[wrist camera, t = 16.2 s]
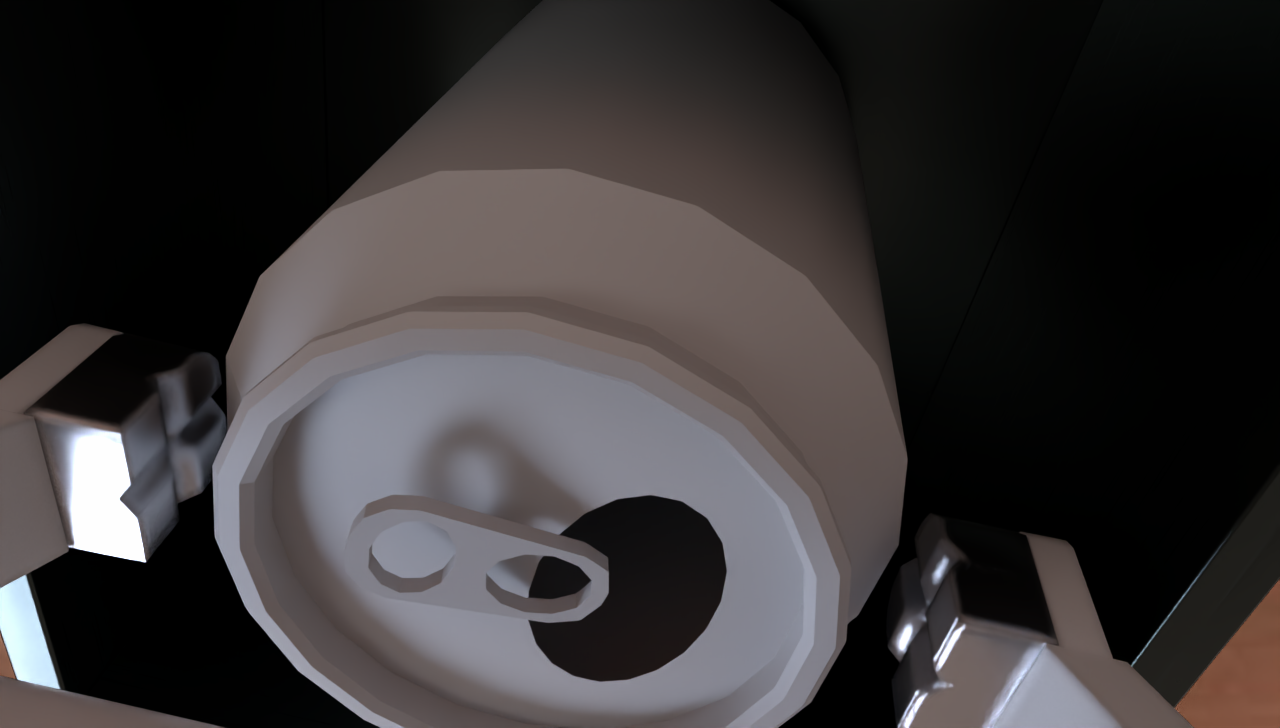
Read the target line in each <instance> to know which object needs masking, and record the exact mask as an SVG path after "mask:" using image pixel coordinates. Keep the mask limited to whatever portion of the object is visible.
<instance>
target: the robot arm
mask: <svg viewBox="0 0 1280 728" xmlns="http://www.w3.org/2000/svg"><path fill="white" fill-rule="evenodd" d="M221 385H222V381H221V375H220V369H219V362H218V360H217V359H216V358H215V357H213V356H212V355H211V354H210V353H207V352H203V351H199V350H195V349H191V348H187V347H183V346H179V345H174V344H170V343H166V342H162V341H158V340H154V339H150V338H146V337H142V336H138V335H134V334H130V333H122V332H119V331H115V330H110V329H106V328H102V327H98V326H94V325H90V324H86V323H83V324H77V325H71V326H69V327H67V328H66V329H65V330H64V331H62V332H61V333H60V334H58V335H57V336H56V337H55V338H53V339H52V340H51V341H50V342H48V343H47V344H46V345H44V346H43V347H42V348H41V349H39V350H38V351H37V352H35V353H34V354H33V355H32V356H30V357H29V358H28V359H27V360H25V361H24V362H23V363H21V364H20V365H19V366H18V367H16V368H15V369H14V370H13V371H11V372H10V373H9V374H7V375H6V376H5V377H4V378H2V379H1V380H0V588H2V587H4V586H6V585H7V584H9V583H11V582H13V581H15V580H17V579H19V578H20V577H22V576H24V575H26V574H28V573H30V572H31V571H33V570H35V569H37V568H39V567H41V566H43V565H44V564H46V563H48V562H50V561H52V560H54V559H56V558H57V557H59V556H61V555H63V554H65V553H67V552H68V551H69V548H68V547H71V548H76V549H81V550H86V551H91V552H96V553H101V554H106V555H111V556H116V557H121V558H126V559H131V560H136V561H141V562H146V561H147V560H148V559H149V558H150V556H151V555H152V554H153V553H154V552H155V550H156V549H157V548H158V547H159V545H160V544H161V543H162V542H163V540H164V539H165V538H166V537H167V535H168V534H169V533H170V532H171V531H172V529H173V528H174V527H175V526H176V524H177V523H178V522H179V521H180V517H179V510H178V504H177V503H180V502H182V501H184V500H186V499H189V498H191V497H193V496H196V495H198V494H200V493H202V492H203V490H204V489H205V488H206V487H207V485H208V484H209V483H210V481H211V480H212V479H213V468H212V465H213V463H214V461H215V459H216V456H217V454H218V452H219V450H220V448H221V445H222V443H223V441H224V439H225V437H226V434H227V425H226V415H225V414H224V413H223V411H222V410H221V409H220V408H219V406H218V405H217V404H216V403H215V401H214V400H213V399H212V398H211V396H212V395H213V394H214V393H215V391H216V390H217V389H218V388H219V387H220V386H221ZM914 540H915V547H916V554H917V558H915V559H913V560H911V561H909V562H907V563H906V564H904V565H902V566H901V567H900V570H899V572H898V574H897V577H896V579H895V582H894V584H893V586H892V590H891V595H890V599H889V604H888V608H887V624H886V631H887V643H888V648H889V649H890V651H891V652H892V653H893V655H894V656H895V657H896V658H897V660H898V661H899V662H900V664H899V666H898V668H897V670H896V672H895V674H894V676H893V678H892V680H891V683H892V692H893V701H894V710H895V719H896V728H1194V727H1193V726H1192V725H1191V724H1190V723H1189V722H1188V721H1187V720H1186V719H1185V718H1184V717H1183V716H1182V715H1181V714H1180V713H1178V712H1177V711H1176V710H1175V709H1174V708H1173V707H1172V706H1171V705H1170V704H1169V703H1168V702H1167V701H1166V700H1165V699H1164V698H1163V697H1162V696H1161V695H1160V694H1159V693H1158V692H1157V691H1156V690H1155V689H1154V688H1153V687H1152V686H1151V685H1150V684H1149V683H1148V682H1147V681H1146V680H1145V679H1144V678H1143V677H1142V676H1141V675H1140V674H1139V673H1138V672H1137V671H1136V670H1135V669H1134V668H1133V667H1132V666H1131V665H1130V664H1128V663H1127V662H1124V661H1120V660H1116V659H1113V657H1112V654H1111V651H1110V649H1109V646H1108V643H1107V640H1106V637H1105V635H1104V632H1103V629H1102V626H1101V623H1100V621H1099V618H1098V615H1097V612H1096V609H1095V607H1094V604H1093V601H1092V598H1091V595H1090V593H1089V590H1088V587H1087V584H1086V581H1085V579H1084V576H1083V573H1082V570H1081V567H1080V565H1079V562H1078V559H1077V556H1076V553H1075V551H1074V548H1073V547H1072V546H1071V545H1070V544H1069V543H1068V542H1067V541H1066V540H1061V539H1056V538H1051V537H1046V536H1041V535H1036V534H1031V533H1026V532H1019V533H1018V532H1015V531H1011V530H1006V529H1001V528H997V527H992V526H988V525H983V524H978V523H974V522H969V521H964V520H960V519H955V518H950V517H946V516H941V515H937V514H932V513H930V514H929V515H928V516H927V517H926V518H925V519H924V520H923V522H922V523H921V525H920V527H919V529H918V532H917V534H916V536H915V538H914ZM0 728H225V727H220V726H216V725H212V724H207V723H203V722H199V721H194V720H190V719H186V718H182V717H177V716H173V715H169V714H164V713H160V712H156V711H151V710H147V709H143V708H138V707H134V706H130V705H125V704H121V703H117V702H112V701H108V700H104V699H99V698H95V697H91V696H86V695H82V694H78V693H73V692H69V691H65V690H60V689H56V688H52V687H47V686H43V685H39V684H34V683H30V682H26V681H21V680H17V679H13V678H8V677H4V676H0Z"/></svg>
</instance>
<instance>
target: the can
mask: <svg viewBox="0 0 1280 728" xmlns="http://www.w3.org/2000/svg"><path fill="white" fill-rule="evenodd" d="M226 387H227V434H226V437H225V439H224V441H223V443H222V445H221V448H220V450H219V452H218V454H217V456H216V459H215V461H214V463H213V465H212V468H213V499H214V530H215V539H216V541H217V544H218V546H219V548H220V551H221V553H222V555H223V557H224V560H225V562H226V564H227V567H228V569H229V571H230V573H231V576H232V578H233V580H234V583H235V585H236V587H237V589H238V592H239V594H240V596H241V599H242V601H243V603H244V606H245V607H246V609H247V611H248V612H249V613H250V615H251V616H252V617H253V618H254V619H255V620H256V622H257V623H258V624H259V625H260V626H261V628H262V629H263V630H264V631H265V632H266V633H267V635H268V636H269V637H270V638H271V639H272V641H273V642H274V643H275V644H276V645H277V646H278V648H279V649H280V650H281V651H282V652H283V654H284V655H285V656H286V657H287V658H288V659H289V661H290V662H291V663H292V664H293V665H294V667H295V668H296V669H297V670H298V671H299V672H300V673H301V674H303V675H304V676H305V677H307V678H308V679H310V680H311V681H312V682H314V683H315V684H316V685H318V686H319V687H320V688H322V689H323V690H324V691H326V692H327V693H328V694H330V695H331V696H332V697H334V698H335V699H336V700H338V701H339V702H340V703H342V704H343V705H344V706H346V707H347V708H349V709H350V710H351V711H353V712H354V713H355V714H357V715H358V716H359V717H361V718H362V719H363V720H365V721H368V722H370V723H372V724H374V725H376V726H378V727H380V728H778V727H780V726H781V725H782V724H784V723H785V722H786V721H787V720H789V719H790V718H791V717H793V716H794V715H795V714H797V713H798V712H799V711H801V710H802V709H803V708H804V707H806V706H807V705H808V704H810V703H811V702H812V700H813V698H814V696H815V695H816V693H817V691H818V690H819V688H820V686H821V684H822V683H823V681H824V679H825V677H826V676H827V674H828V672H829V671H830V669H831V667H832V665H833V664H834V662H835V660H836V659H837V657H838V655H839V653H840V652H841V650H842V648H843V646H844V645H845V643H846V637H847V624H848V623H849V622H850V621H852V620H853V619H854V618H855V617H857V616H858V615H859V613H860V611H861V609H862V608H863V606H864V604H865V602H866V601H867V599H868V597H869V595H870V594H871V592H872V590H873V588H874V587H875V585H876V583H877V582H878V580H879V578H880V576H881V575H882V573H883V571H884V569H885V568H886V566H887V564H888V562H889V561H890V559H891V557H892V556H893V554H894V552H895V550H896V549H897V547H898V545H899V536H900V527H901V517H902V508H903V498H904V489H905V480H906V470H907V461H908V458H907V452H906V446H905V439H904V433H903V427H902V421H901V414H900V408H899V402H898V395H897V389H896V383H895V377H894V370H893V364H892V358H891V352H890V345H889V339H888V333H887V327H886V320H885V314H884V308H883V301H882V295H881V289H880V283H879V276H878V270H877V264H876V258H875V251H874V245H873V239H872V233H871V226H870V220H869V214H868V207H867V201H866V195H865V189H864V182H863V176H862V170H861V164H860V157H859V151H858V145H857V138H856V134H855V131H854V127H853V124H852V120H851V117H850V113H849V110H848V107H847V103H846V100H845V96H844V93H843V89H842V86H841V82H840V79H839V76H838V74H837V73H836V72H835V70H834V69H833V67H832V66H831V65H830V63H829V62H828V60H827V59H826V58H825V56H824V55H823V53H822V52H821V51H820V49H819V48H818V46H817V45H816V43H815V42H814V41H813V39H812V38H811V36H810V35H809V34H808V32H807V31H806V29H805V28H804V27H803V25H802V24H801V22H799V21H798V20H796V19H795V18H794V17H792V16H791V15H789V14H788V13H787V12H785V11H784V10H782V9H781V8H780V7H778V6H777V5H775V4H774V3H773V2H771V1H770V0H543V1H541V2H540V3H539V4H538V5H537V6H536V7H535V8H534V9H533V10H532V11H531V12H530V13H528V14H527V15H526V16H525V17H524V18H523V19H522V20H521V21H520V22H519V23H518V24H517V25H515V26H514V27H513V28H512V29H511V30H510V31H509V32H508V33H507V34H506V35H505V36H504V37H503V38H502V39H501V40H500V41H499V42H498V43H496V44H495V45H494V46H493V47H492V48H491V49H490V50H489V51H488V52H487V53H486V54H485V55H484V56H483V57H482V58H481V59H480V60H479V61H478V62H477V63H476V64H475V65H474V66H473V67H472V68H471V69H470V70H469V71H468V72H467V73H466V74H465V75H464V76H463V77H462V78H461V79H460V80H459V81H458V82H457V83H456V84H455V85H454V86H453V87H452V88H451V89H450V90H449V91H448V92H447V93H446V94H445V95H444V96H443V97H442V98H441V99H440V100H438V101H437V102H436V103H435V104H434V105H433V106H432V107H431V108H430V109H429V110H428V111H427V112H426V113H425V114H424V115H423V116H422V117H421V118H420V119H419V120H418V121H417V122H416V123H415V124H414V125H413V126H412V127H411V128H410V129H409V130H408V131H407V132H406V133H405V134H404V135H403V136H402V137H401V138H400V139H399V140H398V141H397V142H396V143H395V144H394V145H393V146H392V147H391V148H390V149H389V150H388V151H387V152H386V153H385V154H384V155H383V156H382V157H380V158H379V159H378V160H377V161H376V162H375V163H374V164H373V165H372V166H371V167H370V168H369V169H368V170H367V171H366V172H365V173H364V174H363V175H362V176H361V177H360V178H359V179H358V180H357V181H356V182H355V183H354V184H353V185H352V186H351V187H350V188H349V189H348V190H347V191H346V192H345V193H344V194H343V195H342V196H341V197H340V198H339V199H338V200H337V201H336V202H335V203H334V204H333V205H332V206H331V207H330V208H329V209H328V210H327V211H326V212H325V213H324V214H322V215H321V216H320V217H319V218H318V219H317V220H316V221H315V222H314V223H313V224H312V225H311V226H310V227H309V228H308V229H307V230H306V231H305V232H304V233H303V234H302V235H301V236H300V237H299V238H298V239H297V240H296V241H295V242H294V243H293V244H292V245H291V246H290V247H289V248H288V249H287V250H286V251H285V252H284V253H283V254H282V255H281V256H280V257H279V258H278V259H277V260H276V261H275V262H274V263H273V264H272V265H271V266H270V267H269V268H268V269H267V270H266V271H264V272H263V273H262V274H261V275H260V277H259V279H258V282H257V284H256V286H255V289H254V291H253V293H252V296H251V298H250V300H249V303H248V305H247V308H246V310H245V312H244V315H243V317H242V319H241V322H240V324H239V326H238V329H237V331H236V334H235V336H234V338H233V341H232V343H231V345H230V348H229V350H228V352H227V355H226Z"/></svg>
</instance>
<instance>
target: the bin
mask: <svg viewBox="0 0 1280 728" xmlns="http://www.w3.org/2000/svg"><path fill="white" fill-rule="evenodd" d="M541 1H543V0H0V380H1V379H2V378H4V377H5V376H6V375H7V374H9V373H10V372H11V371H13V370H14V369H15V368H16V367H18V366H19V365H20V364H21V363H23V362H24V361H25V360H27V359H28V358H29V357H30V356H32V355H33V354H34V353H35V352H37V351H38V350H39V349H41V348H42V347H43V346H44V345H46V344H47V343H48V342H50V341H51V340H52V339H53V338H55V337H56V336H57V335H58V334H60V333H61V332H62V331H64V330H65V329H66V328H67V327H69V326H71V325H77V324H83V323H86V324H90V325H94V326H98V327H102V328H106V329H110V330H115V331H119V332H122V333H130V334H134V335H138V336H142V337H146V338H150V339H154V340H158V341H162V342H166V343H170V344H174V345H179V346H183V347H187V348H191V349H195V350H199V351H203V352H207V353H210V354H211V355H212V356H213V357H215V358H216V359H217V360H218V362H219V369H220V375H221V381H222V385H221V386H220V387H219V388H218V389H217V390H216V391H215V393H214V394H213V395H212V396H211V398H212V399H213V400H214V401H215V403H216V404H217V405H218V406H219V408H220V409H221V410H222V411H223V413H224V414H225V415H226V425H227V387H226V355H227V352H228V350H229V348H230V345H231V343H232V341H233V338H234V336H235V334H236V331H237V329H238V326H239V324H240V322H241V319H242V317H243V315H244V312H245V310H246V308H247V305H248V303H249V300H250V298H251V296H252V293H253V291H254V289H255V286H256V284H257V282H258V279H259V277H260V275H261V274H262V273H263V272H264V271H266V270H267V269H268V268H269V267H270V266H271V265H272V264H273V263H274V262H275V261H276V260H277V259H278V258H279V257H280V256H281V255H282V254H283V253H284V252H285V251H286V250H287V249H288V248H289V247H290V246H291V245H292V244H293V243H294V242H295V241H296V240H297V239H298V238H299V237H300V236H301V235H302V234H303V233H304V232H305V231H306V230H307V229H308V228H309V227H310V226H311V225H312V224H313V223H314V222H315V221H316V220H317V219H318V218H319V217H320V216H321V215H322V214H324V213H325V212H326V211H327V210H328V209H329V208H330V207H331V206H332V205H333V204H334V203H335V202H336V201H337V200H338V199H339V198H340V197H341V196H342V195H343V194H344V193H345V192H346V191H347V190H348V189H349V188H350V187H351V186H352V185H353V184H354V183H355V182H356V181H357V180H358V179H359V178H360V177H361V176H362V175H363V174H364V173H365V172H366V171H367V170H368V169H369V168H370V167H371V166H372V165H373V164H374V163H375V162H376V161H377V160H378V159H379V158H380V157H382V156H383V155H384V154H385V153H386V152H387V151H388V150H389V149H390V148H391V147H392V146H393V145H394V144H395V143H396V142H397V141H398V140H399V139H400V138H401V137H402V136H403V135H404V134H405V133H406V132H407V131H408V130H409V129H410V128H411V127H412V126H413V125H414V124H415V123H416V122H417V121H418V120H419V119H420V118H421V117H422V116H423V115H424V114H425V113H426V112H427V111H428V110H429V109H430V108H431V107H432V106H433V105H434V104H435V103H436V102H437V101H438V100H440V99H441V98H442V97H443V96H444V95H445V94H446V93H447V92H448V91H449V90H450V89H451V88H452V87H453V86H454V85H455V84H456V83H457V82H458V81H459V80H460V79H461V78H462V77H463V76H464V75H465V74H466V73H467V72H468V71H469V70H470V69H471V68H472V67H473V66H474V65H475V64H476V63H477V62H478V61H479V60H480V59H481V58H482V57H483V56H484V55H485V54H486V53H487V52H488V51H489V50H490V49H491V48H492V47H493V46H494V45H495V44H496V43H498V42H499V41H500V40H501V39H502V38H503V37H504V36H505V35H506V34H507V33H508V32H509V31H510V30H511V29H512V28H513V27H514V26H515V25H517V24H518V23H519V22H520V21H521V20H522V19H523V18H524V17H525V16H526V15H527V14H528V13H530V12H531V11H532V10H533V9H534V8H535V7H536V6H537V5H538V4H539V3H540V2H541ZM770 1H771V2H773V3H774V4H775V5H777V6H778V7H780V8H781V9H782V10H784V11H785V12H787V13H788V14H789V15H791V16H792V17H794V18H795V19H796V20H798V21H799V22H801V24H802V25H803V27H804V28H805V29H806V31H807V32H808V34H809V35H810V36H811V38H812V39H813V41H814V42H815V43H816V45H817V46H818V48H819V49H820V51H821V52H822V53H823V55H824V56H825V58H826V59H827V60H828V62H829V63H830V65H831V66H832V67H833V69H834V70H835V72H836V73H837V74H838V76H839V79H840V82H841V86H842V89H843V93H844V96H845V100H846V103H847V107H848V110H849V113H850V117H851V120H852V124H853V127H854V131H855V134H856V138H857V145H858V151H859V157H860V164H861V170H862V176H863V182H864V189H865V195H866V201H867V207H868V214H869V220H870V226H871V233H872V239H873V245H874V251H875V258H876V264H877V270H878V276H879V283H880V289H881V295H882V301H883V308H884V314H885V320H886V327H887V333H888V339H889V345H890V352H891V358H892V364H893V370H894V377H895V383H896V389H897V395H898V402H899V408H900V414H901V421H902V427H903V433H904V439H905V446H906V452H907V458H908V461H907V470H906V480H905V489H904V498H903V508H902V517H901V527H900V536H899V545H898V547H897V549H896V550H895V552H894V554H893V556H892V557H891V559H890V561H889V562H888V564H887V566H886V568H885V569H884V571H883V573H882V575H881V576H880V578H879V580H878V582H877V583H876V585H875V587H874V588H873V590H872V592H871V594H870V595H869V597H868V599H867V601H866V602H865V604H864V606H863V608H862V609H861V611H860V613H859V615H858V616H857V617H855V618H854V619H853V620H852V621H850V622H849V623H848V624H847V637H846V643H845V645H844V646H843V648H842V650H841V652H840V653H839V655H838V657H837V659H836V660H835V662H834V664H833V665H832V667H831V669H830V671H829V672H828V674H827V676H826V677H825V679H824V681H823V683H822V684H821V686H820V688H819V690H818V691H817V693H816V695H815V696H814V698H813V700H812V702H811V703H810V704H808V705H807V706H806V707H804V708H803V709H802V710H801V711H799V712H798V713H797V714H795V715H794V716H793V717H791V718H790V719H789V720H787V721H786V722H785V723H784V724H782V725H781V726H780V727H778V728H896V719H895V710H894V701H893V692H892V683H891V680H892V678H893V676H894V674H895V672H896V670H897V668H898V666H899V664H900V662H899V661H898V660H897V658H896V657H895V656H894V655H893V653H892V652H891V651H890V649H889V648H888V643H887V631H886V624H887V608H888V604H889V599H890V595H891V590H892V586H893V584H894V582H895V579H896V577H897V574H898V572H899V570H900V567H901V566H902V565H904V564H906V563H907V562H909V561H911V560H913V559H915V558H917V554H916V547H915V540H914V538H915V536H916V534H917V532H918V529H919V527H920V525H921V523H922V522H923V520H924V519H925V518H926V517H927V516H928V515H929V514H930V513H932V514H937V515H941V516H946V517H950V518H955V519H960V520H964V521H969V522H974V523H978V524H983V525H988V526H992V527H997V528H1001V529H1006V530H1011V531H1015V532H1018V533H1019V532H1026V533H1031V534H1036V535H1041V536H1046V537H1051V538H1056V539H1061V540H1066V541H1067V542H1068V543H1069V544H1070V545H1071V546H1072V547H1073V548H1074V551H1075V553H1076V556H1077V559H1078V562H1079V565H1080V567H1081V570H1082V573H1083V576H1084V579H1085V581H1086V584H1087V587H1088V590H1089V593H1090V595H1091V598H1092V601H1093V604H1094V607H1095V609H1096V612H1097V615H1098V618H1099V621H1100V623H1101V626H1102V629H1103V632H1104V635H1105V637H1106V640H1107V643H1108V646H1109V649H1110V651H1111V654H1112V657H1113V659H1116V660H1120V661H1124V662H1127V663H1128V664H1130V665H1131V666H1132V667H1133V668H1134V669H1135V670H1136V671H1137V672H1138V673H1139V674H1140V675H1141V676H1142V677H1143V678H1144V679H1145V680H1146V681H1147V682H1148V683H1149V684H1150V685H1151V686H1152V687H1153V688H1154V689H1155V690H1156V691H1157V692H1158V693H1159V694H1160V695H1161V696H1162V697H1163V698H1164V699H1165V700H1166V701H1167V702H1168V703H1169V704H1170V705H1171V706H1172V707H1173V708H1175V707H1176V705H1177V704H1178V703H1179V702H1180V701H1181V699H1182V698H1183V697H1184V696H1185V694H1186V693H1187V692H1188V691H1189V690H1190V688H1191V687H1192V686H1193V685H1194V683H1195V682H1196V681H1197V680H1198V678H1199V677H1200V676H1201V675H1202V674H1203V672H1204V671H1205V670H1206V669H1207V667H1208V666H1209V665H1210V664H1211V663H1212V661H1213V660H1214V659H1215V658H1216V656H1217V655H1218V654H1219V653H1220V651H1221V650H1222V649H1223V648H1224V647H1225V645H1226V644H1227V643H1228V642H1229V640H1230V639H1231V638H1232V637H1233V636H1234V634H1235V633H1236V632H1237V631H1238V629H1239V628H1240V627H1241V626H1242V624H1243V623H1244V622H1245V621H1246V620H1247V618H1248V617H1249V616H1250V615H1251V613H1252V612H1253V611H1254V610H1255V609H1256V607H1257V606H1258V605H1259V604H1260V602H1261V601H1262V600H1263V599H1264V597H1265V596H1266V595H1267V594H1268V593H1269V591H1270V590H1271V589H1272V588H1273V586H1274V585H1275V584H1276V583H1277V581H1278V580H1279V579H1280V0H770ZM177 504H178V510H179V517H180V521H179V522H178V523H177V524H176V526H175V527H174V528H173V529H172V531H171V532H170V533H169V534H168V535H167V537H166V538H165V539H164V540H163V542H162V543H161V544H160V545H159V547H158V548H157V549H156V550H155V552H154V553H153V554H152V555H151V556H150V558H149V559H148V560H147V561H146V562H141V561H136V560H131V559H126V558H121V557H116V556H111V555H106V554H101V553H96V552H91V551H86V550H81V549H76V548H71V547H68V548H69V551H68V552H67V553H65V554H63V555H61V556H59V557H57V558H56V559H54V560H52V561H50V562H48V563H46V564H44V565H43V566H41V567H39V568H37V569H35V570H33V571H31V572H30V573H28V574H26V575H24V576H22V577H20V578H19V579H17V580H15V581H13V582H11V583H9V584H7V585H6V586H4V587H2V588H0V634H1V637H2V640H3V642H4V645H5V648H6V651H7V654H8V657H9V660H10V663H11V666H12V668H13V671H14V674H15V677H16V679H17V680H21V681H26V682H30V683H34V684H39V685H43V686H47V687H52V688H56V689H60V690H65V691H69V692H73V693H78V694H82V695H86V696H91V697H95V698H99V699H104V700H108V701H112V702H117V703H121V704H125V705H130V706H134V707H138V708H143V709H147V710H151V711H156V712H160V713H164V714H169V715H173V716H177V717H182V718H186V719H190V720H194V721H199V722H203V723H207V724H212V725H216V726H220V727H225V728H380V727H378V726H376V725H374V724H372V723H370V722H368V721H365V720H363V719H362V718H361V717H359V716H358V715H357V714H355V713H354V712H353V711H351V710H350V709H349V708H347V707H346V706H344V705H343V704H342V703H340V702H339V701H338V700H336V699H335V698H334V697H332V696H331V695H330V694H328V693H327V692H326V691H324V690H323V689H322V688H320V687H319V686H318V685H316V684H315V683H314V682H312V681H311V680H310V679H308V678H307V677H305V676H304V675H303V674H301V673H300V672H299V671H298V670H297V669H296V668H295V667H294V665H293V664H292V663H291V662H290V661H289V659H288V658H287V657H286V656H285V655H284V654H283V652H282V651H281V650H280V649H279V648H278V646H277V645H276V644H275V643H274V642H273V641H272V639H271V638H270V637H269V636H268V635H267V633H266V632H265V631H264V630H263V629H262V628H261V626H260V625H259V624H258V623H257V622H256V620H255V619H254V618H253V617H252V616H251V615H250V613H249V612H248V611H247V609H246V607H245V606H244V603H243V601H242V599H241V596H240V594H239V592H238V589H237V587H236V585H235V583H234V580H233V578H232V576H231V573H230V571H229V569H228V567H227V564H226V562H225V560H224V557H223V555H222V553H221V551H220V548H219V546H218V544H217V541H216V539H215V530H214V499H213V479H212V480H211V481H210V483H209V484H208V485H207V487H206V488H205V489H204V490H203V492H202V493H200V494H198V495H196V496H193V497H191V498H189V499H186V500H184V501H182V502H180V503H177Z"/></svg>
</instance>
